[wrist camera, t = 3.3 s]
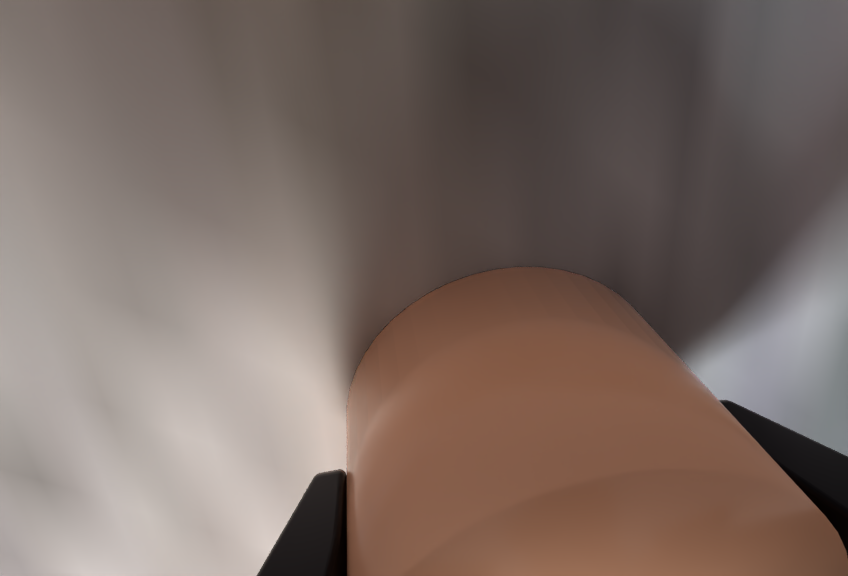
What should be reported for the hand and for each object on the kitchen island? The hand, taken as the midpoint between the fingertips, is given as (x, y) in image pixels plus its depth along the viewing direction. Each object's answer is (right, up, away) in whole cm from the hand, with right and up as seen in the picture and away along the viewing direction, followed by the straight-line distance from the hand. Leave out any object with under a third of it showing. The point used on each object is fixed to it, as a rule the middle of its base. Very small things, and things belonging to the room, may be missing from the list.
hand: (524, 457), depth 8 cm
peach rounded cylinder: (0, +1, +1) cm, 1 cm away
